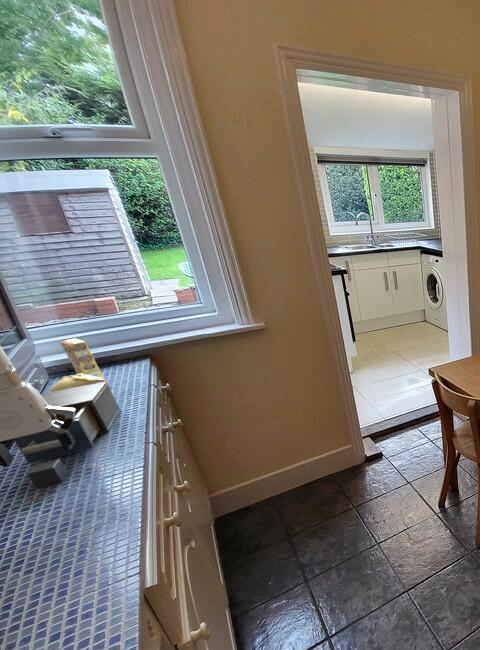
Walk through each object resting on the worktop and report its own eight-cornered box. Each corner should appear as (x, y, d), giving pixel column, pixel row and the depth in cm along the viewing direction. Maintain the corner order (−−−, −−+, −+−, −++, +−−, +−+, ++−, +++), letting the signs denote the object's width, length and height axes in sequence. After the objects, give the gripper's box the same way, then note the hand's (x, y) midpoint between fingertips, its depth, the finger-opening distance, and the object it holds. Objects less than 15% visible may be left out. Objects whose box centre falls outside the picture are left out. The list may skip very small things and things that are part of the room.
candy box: (107, 382, 142) (86, 340, 136) (91, 387, 139) (69, 344, 133) (96, 378, 146) (75, 337, 140) (81, 383, 143) (58, 341, 137)
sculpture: (123, 400, 128) (107, 368, 124) (80, 419, 118) (62, 385, 113) (94, 398, 130) (77, 367, 126) (49, 417, 120) (29, 383, 115)
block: (37, 489, 88) (27, 473, 87) (44, 479, 91) (34, 464, 90) (62, 482, 90) (53, 467, 88) (68, 473, 93) (59, 458, 92)
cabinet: (108, 431, 110) (91, 400, 106) (44, 446, 104) (23, 414, 100) (120, 410, 122) (106, 381, 118) (63, 423, 116) (45, 393, 112)
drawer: (87, 457, 97) (71, 429, 94) (20, 474, 92) (0, 445, 89) (107, 425, 112) (93, 399, 108) (49, 438, 107) (33, 411, 103)
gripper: (-86, 403, 74) (-27, 479, 81) (45, 378, 82) (88, 449, 89) (-62, 389, 80) (-9, 461, 87) (58, 366, 88) (97, 434, 95)
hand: (40, 455), depth 88 cm, fingers open, 9 cm apart
